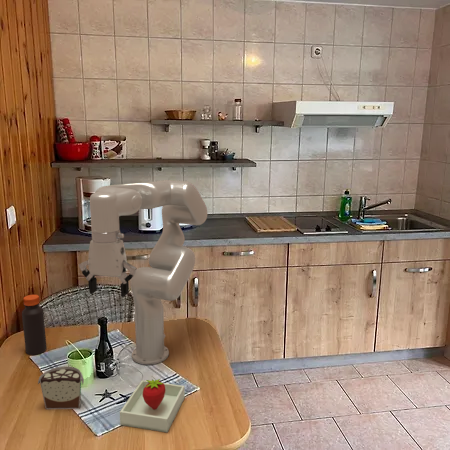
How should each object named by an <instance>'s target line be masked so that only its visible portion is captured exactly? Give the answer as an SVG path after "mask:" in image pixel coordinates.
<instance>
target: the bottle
mask: <svg viewBox="0 0 450 450" xmlns="http://www.w3.org/2000/svg"><path fill="white" fill-rule="evenodd" d="M23 306H24V307H25V308H24V309H23V310H22V311H21V316H22V317H21V318H22V329H23V337H24V338H23V340H24V346H25V349H24V350H25V353H26V354H27V355H31V356H37V355H40V354H42V353H44V352H46V350H47V349H48V348H47V347H48V346H47V339H46V325H45V315H44V308H43V307H41V306H40V296H39V295H38V294H29V295H26V296H24V297H23Z"/></svg>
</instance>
